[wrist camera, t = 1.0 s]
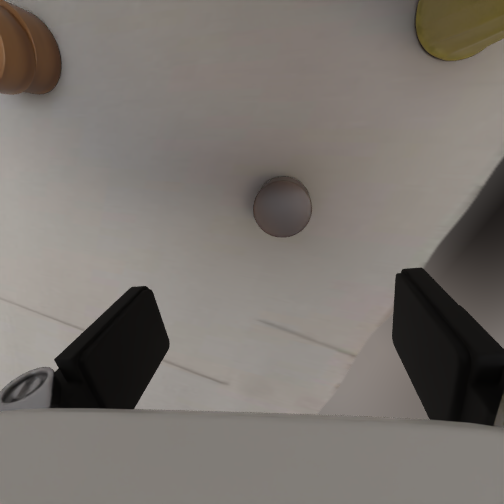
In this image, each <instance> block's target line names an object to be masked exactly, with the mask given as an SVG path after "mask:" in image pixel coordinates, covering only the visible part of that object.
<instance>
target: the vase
mask: <svg viewBox="0 0 504 504" xmlns="http://www.w3.org/2000/svg"><path fill="white" fill-rule="evenodd" d="M416 30H417V35H418V38H419V41H420V43H421V44H422V46H423V47H424V49H425V50H426V51H427V52H428V53H429V54H431V55H433V56H435V57H437V58H440V59H442V60H446V61H454V60H461V59H465V58H468V57H471V56H473V55H475V54H477V53H479V52H480V51H482V50H483V49H485V48H486V47H487V46H489V45H491V44H493V43H495V42H497V41H499V40H501V39H503V38H504V0H419V2H418V7H417V13H416Z"/></svg>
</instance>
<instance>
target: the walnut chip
mask: <svg viewBox="0 0 504 504" xmlns="http://www.w3.org/2000/svg"><path fill="white" fill-rule="evenodd" d="M311 212H312V205H311V200H310V197H309V193H308V191H307V189H306V188H305V186H304V185H303V184H302V183H301V182H299V181H298V180H296V179H294V178H291V177H286V176H281V177H276V178H273V179H271V180H269V181H268V182H266V183H265V184H264V185H263V186H262V188H261V189H260V191H259V193H258V194H257V196H256V198H255V201H254V205H253V213H254V217H255V220H256V222H257V224H258V225H259V227H260V228H261V229H262V230H263V231H264V232H266V233H267V234H269V235H272V236H275V237H290V236H293V235H295V234H297V233H299V232H300V231H301V230H303V229H304V228H305V226H306V225H307V224H308V222H309V220H310V217H311Z"/></svg>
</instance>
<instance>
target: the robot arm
mask: <svg viewBox="0 0 504 504" xmlns="http://www.w3.org/2000/svg"><path fill="white" fill-rule="evenodd" d="M392 339H393V343H394V346H395V348H396V350H397V353H398V355H399V357H400V359H401V361H402V363H403V365H404V367H405V369H406V371H407V373H408V375H409V377H410V379H411V382H412V384H413V386H414V388H415V390H416V392H417V394H418V396H419V398H420V400H421V402H422V404H423V406H424V409H425V411H426V412H427V415H428V417H429V419H430V420H429V419H410V418H389V417H370V416H369V417H368V416H344V415H315V414H286V413H255V412H221V411H185V410H144V409H134V408H135V406H136V404H137V403H138V401H139V399H140V398H141V396H142V394H143V392H144V391H145V389H146V387H147V386H148V384H149V382H150V380H151V379H152V377H153V375H154V373H155V372H156V370H157V368H158V367H159V365H160V363H161V361H162V360H163V358H164V356H165V354H166V353H167V351H168V349H169V338H168V336H167V333H166V330H165V327H164V324H163V321H162V318H161V315H160V312H159V309H158V306H157V303H156V300H155V297H154V294H153V292H152V290H150V289H149V288H148V287H146V286H140V287H131V288H130V289H129V290H128V291H127V292H126V293H124V294H123V295H122V296H121V297H120V298H119V299H118V300H117V301H116V302H115V303H114V304H113V305H112V306H111V307H110V308H109V309H107V310H106V311H105V312H104V313H103V314H102V315H101V316H100V317H99V318H98V319H97V320H96V321H95V322H94V323H93V324H92V325H90V326H89V327H88V328H87V329H86V330H85V331H84V332H83V333H82V334H81V335H80V336H79V337H78V338H77V339H76V340H75V341H73V342H72V343H71V344H70V345H69V346H68V347H67V348H66V349H65V350H64V351H63V352H62V353H61V354H60V355H59V356H57V357H56V358H55V359H54V360H55V362H56V364H57V366H58V367H59V369H58V370H57V371H56V372H54V371H53V369H51V368H50V367H41V368H36V369H34V370H31V371H28V372H26V373H24V374H22V375H20V376H19V377H17V378H16V379H14V380H13V381H11V382H10V383H9V384H7V385H6V386H5V387H4V388H3V389H2V390H1V391H0V504H504V349H503V348H502V347H501V346H500V345H499V344H498V343H497V342H496V341H495V340H494V339H493V338H492V337H491V336H490V335H489V334H488V333H487V332H486V331H485V330H484V329H483V328H482V326H480V324H478V322H476V320H475V319H474V318H473V317H472V316H471V315H470V314H469V313H468V312H467V311H466V310H465V309H464V308H462V307H461V306H460V305H458V304H457V303H456V302H455V301H454V300H453V299H452V298H451V297H450V296H449V295H448V294H447V293H446V292H445V291H444V290H443V289H442V288H441V286H439V284H438V283H437V282H435V280H434V279H432V277H431V276H430V275H429V274H428V273H427V272H426V271H425V270H424V269H423V268H410V269H403V270H402V271H401V273H397V274H396V280H395V296H394V313H393V330H392Z"/></svg>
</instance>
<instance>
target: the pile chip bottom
mask: <svg viewBox="0 0 504 504" xmlns="http://www.w3.org/2000/svg"><path fill="white" fill-rule="evenodd" d="M0 5H1V6H3V7H5V8H6V9H7V10H9V11H10V12H11V13H12V14H13V15H14V16H15V17H16V18H17V19H18V20H19V22H20V23H21V24H22V26H23V27H24V29H25V31H26V32H27V34H28V36H29V39H30V41H31V44H32V47H33V50H34V55H35V74H34V78H33V81H32V83H31V84H30V86H29V87H28V88H27V89H26V90H25V91H23V92H26V93H32V94H44V93H47V92H49V91H51V90H52V89H53V88H54V87H55V86H56V84H57V82H58V80H59V77H60V73H61V58H60V53H59V49H58V46H57V43H56V41H55V39H54V37H53V35H52V34H51V32H50V30H49V29H48V28H47V26H46V25H45V24H44V23H43V22H42V21H41V20H40V19H39V18H38V17H36V16H35V15H33V14H31V13H30V12H28V11H25V10H23V9H21V8H19V7H17V6H15V5H12V4H10V3H8V2H6V1H4V0H0Z"/></svg>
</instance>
